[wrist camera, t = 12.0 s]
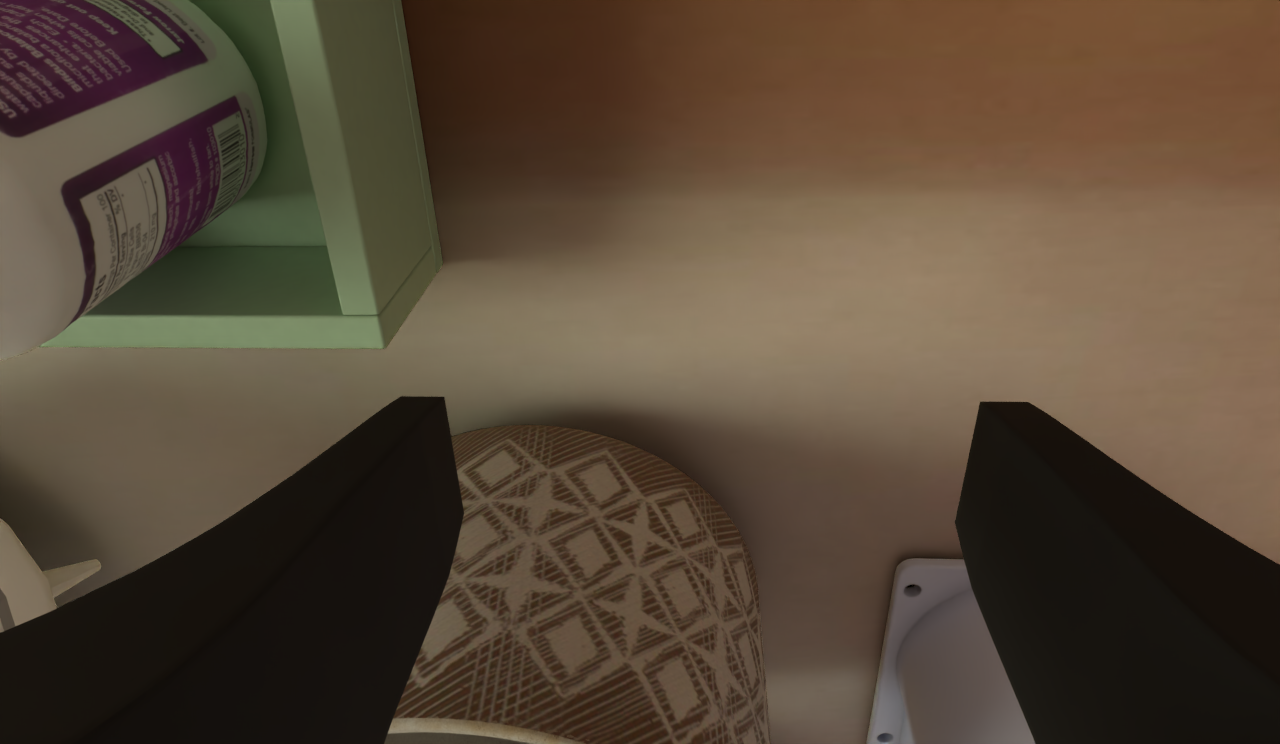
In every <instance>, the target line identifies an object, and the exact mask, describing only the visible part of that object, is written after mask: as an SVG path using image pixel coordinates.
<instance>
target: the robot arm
mask: <svg viewBox="0 0 1280 744" xmlns="http://www.w3.org/2000/svg"><path fill="white" fill-rule="evenodd" d="M463 516H464V509H463V503H462V497H461V492H460V486H459V480H458V474H457V468H456V463H455V457H454V451H453V445H452V439H451V434H450V428H449V422H448V416H447V411H446V405H445V399H444V397H412V396H401V397H399V398H398V399H396V400H395V401H393V402H391V403H390V404H389V405H387V406H386V407H384V408H383V409H381V410H380V411H379V412H377V413H376V414H374V415H373V416H372V417H370V418H369V419H368V420H366V421H365V422H364V423H362V424H361V425H360V426H358V427H357V428H356V429H354V430H353V431H352V432H350V433H349V434H348V435H346V436H345V437H344V438H342V439H341V440H340V441H338V442H337V443H336V444H334V445H333V446H331V447H330V448H329V449H327V450H326V451H325V452H323V453H322V454H321V455H319V456H318V457H316V458H315V459H314V460H312V461H311V462H310V463H308V464H307V465H306V466H304V467H303V468H302V469H300V470H299V471H297V472H296V473H295V474H293V475H292V476H290V477H289V478H287V479H286V480H284V481H283V482H281V483H280V484H278V485H277V486H275V487H274V488H272V489H271V490H269V491H268V492H266V493H265V494H263V495H262V496H260V497H259V498H257V499H256V500H255V501H253V502H252V503H250V504H249V505H247V506H246V507H244V508H243V509H241V510H240V511H238V512H237V513H235V514H234V515H232V516H231V517H229V518H227V519H226V520H224V521H223V522H221V523H219V524H218V525H216V526H214V527H213V528H211V529H209V530H208V531H206V532H204V533H203V534H201V535H199V536H198V537H196V538H194V539H193V540H191V541H189V542H187V543H185V544H184V545H182V546H180V547H178V548H176V549H175V550H173V551H171V552H169V553H167V554H166V555H164V556H162V557H160V558H158V559H157V560H155V561H153V562H151V563H149V564H147V565H145V566H144V567H142V568H140V569H138V570H136V571H134V572H132V573H130V574H128V575H125V576H123V577H121V578H119V579H117V580H115V581H113V582H111V583H109V584H107V585H105V586H103V587H101V588H98V589H96V590H94V591H92V592H90V593H88V594H86V595H84V596H82V597H80V598H78V599H76V600H73V601H71V602H69V603H67V604H65V605H63V606H61V607H59V608H57V609H55V610H52V611H50V612H48V613H46V614H43V615H41V616H39V617H36V618H34V619H32V620H29V621H27V622H25V623H22V624H20V625H17V626H15V627H13V628H10V629H8V630H6V631H3V632H1V633H0V744H384V743H385V740H386V737H387V734H388V731H389V728H390V726H391V723H392V720H393V717H394V715H395V712H396V709H397V707H398V704H399V702H400V699H401V697H402V694H403V692H404V689H405V687H406V684H407V682H408V679H409V677H410V674H411V672H412V669H413V667H414V664H415V662H416V659H417V657H418V654H419V652H420V649H421V647H422V644H423V642H424V639H425V637H426V634H427V632H428V629H429V627H430V624H431V622H432V619H433V616H434V614H435V611H436V609H437V606H438V604H439V601H440V598H441V596H442V593H443V591H444V588H445V585H446V583H447V580H448V577H449V574H450V570H451V566H452V563H453V559H454V555H455V551H456V547H457V543H458V538H459V534H460V529H461V525H462V521H463ZM955 524H956V529H957V533H958V537H959V541H960V545H961V549H962V554H963V558H964V559H926V558H912V559H907V560H905V561H902V562H901V563H900V564H899V565H898V566H897V568H896V571H895V577H894V583H893V589H892V595H891V600H890V606H889V612H888V618H887V624H886V630H885V636H884V642H883V648H882V654H881V659H880V665H879V671H878V677H877V683H876V689H875V695H874V701H873V707H872V713H871V718H870V724H869V730H868V736H867V742H866V744H1280V565H1279V564H1277V563H1275V562H1274V561H1272V560H1270V559H1268V558H1267V557H1265V556H1263V555H1261V554H1260V553H1258V552H1256V551H1254V550H1253V549H1251V548H1249V547H1247V546H1246V545H1244V544H1242V543H1240V542H1239V541H1237V540H1236V539H1234V538H1232V537H1231V536H1229V535H1227V534H1226V533H1224V532H1223V531H1221V530H1219V529H1218V528H1216V527H1214V526H1213V525H1211V524H1210V523H1208V522H1206V521H1205V520H1203V519H1201V518H1200V517H1198V516H1197V515H1195V514H1193V513H1192V512H1190V511H1189V510H1187V509H1186V508H1184V507H1182V506H1181V505H1179V504H1178V503H1176V502H1175V501H1173V500H1172V499H1170V498H1169V497H1167V496H1166V495H1164V494H1163V493H1161V492H1160V491H1158V490H1157V489H1155V488H1154V487H1152V486H1151V485H1149V484H1148V483H1146V482H1145V481H1143V480H1142V479H1140V478H1139V477H1137V476H1136V475H1135V474H1133V473H1132V472H1130V471H1129V470H1127V469H1126V468H1124V467H1123V466H1122V465H1120V464H1119V463H1117V462H1116V461H1114V460H1113V459H1111V458H1110V457H1109V456H1107V455H1106V454H1104V453H1103V452H1102V451H1100V450H1099V449H1097V448H1096V447H1094V446H1093V445H1092V444H1090V443H1089V442H1087V441H1086V440H1085V439H1083V438H1082V437H1080V436H1079V435H1077V434H1076V433H1075V432H1073V431H1072V430H1070V429H1069V428H1067V427H1066V426H1064V425H1063V424H1062V423H1060V422H1059V421H1057V420H1056V419H1054V418H1053V417H1051V416H1050V415H1048V414H1047V413H1045V412H1044V411H1042V410H1041V409H1039V408H1037V407H1036V406H1034V405H1032V404H1031V403H1029V402H980V405H979V410H978V415H977V420H976V425H975V429H974V434H973V439H972V444H971V448H970V453H969V458H968V463H967V467H966V472H965V477H964V482H963V487H962V491H961V496H960V501H959V506H958V510H957V515H956V520H955ZM912 584H915V585H916V586H914V587H910V588H907V586H908V585H912Z"/></svg>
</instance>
